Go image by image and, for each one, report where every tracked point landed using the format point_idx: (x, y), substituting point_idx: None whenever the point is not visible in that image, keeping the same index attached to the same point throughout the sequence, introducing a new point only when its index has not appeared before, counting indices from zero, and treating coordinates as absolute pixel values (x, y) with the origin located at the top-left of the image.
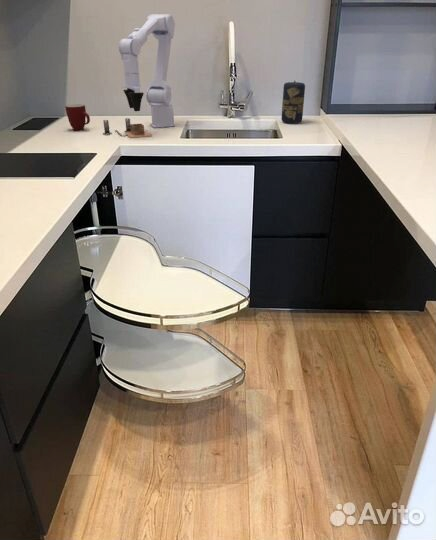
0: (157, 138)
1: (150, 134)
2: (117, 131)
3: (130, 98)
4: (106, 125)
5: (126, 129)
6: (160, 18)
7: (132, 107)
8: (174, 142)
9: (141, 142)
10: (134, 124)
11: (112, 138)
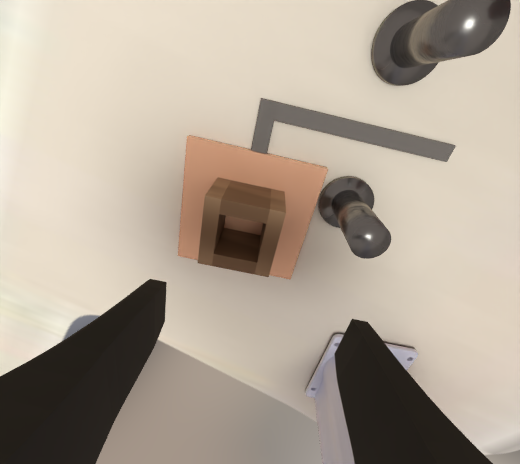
0: (123, 251)
1: (192, 256)
2: (407, 147)
3: (389, 443)
4: (425, 22)
5: (350, 194)
6: None
7: (345, 340)
8: (20, 270)
9: (57, 145)
10: (264, 233)
11: (246, 16)
